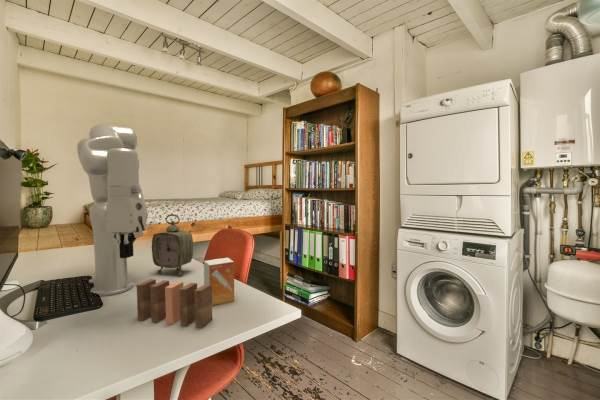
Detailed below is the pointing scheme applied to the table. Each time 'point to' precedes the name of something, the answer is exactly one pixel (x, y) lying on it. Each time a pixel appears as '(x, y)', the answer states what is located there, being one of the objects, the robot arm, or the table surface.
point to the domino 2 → (158, 301)
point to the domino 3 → (173, 302)
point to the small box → (220, 279)
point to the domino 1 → (144, 299)
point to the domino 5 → (203, 305)
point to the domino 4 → (187, 304)
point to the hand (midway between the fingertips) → (126, 256)
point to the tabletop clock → (172, 247)
